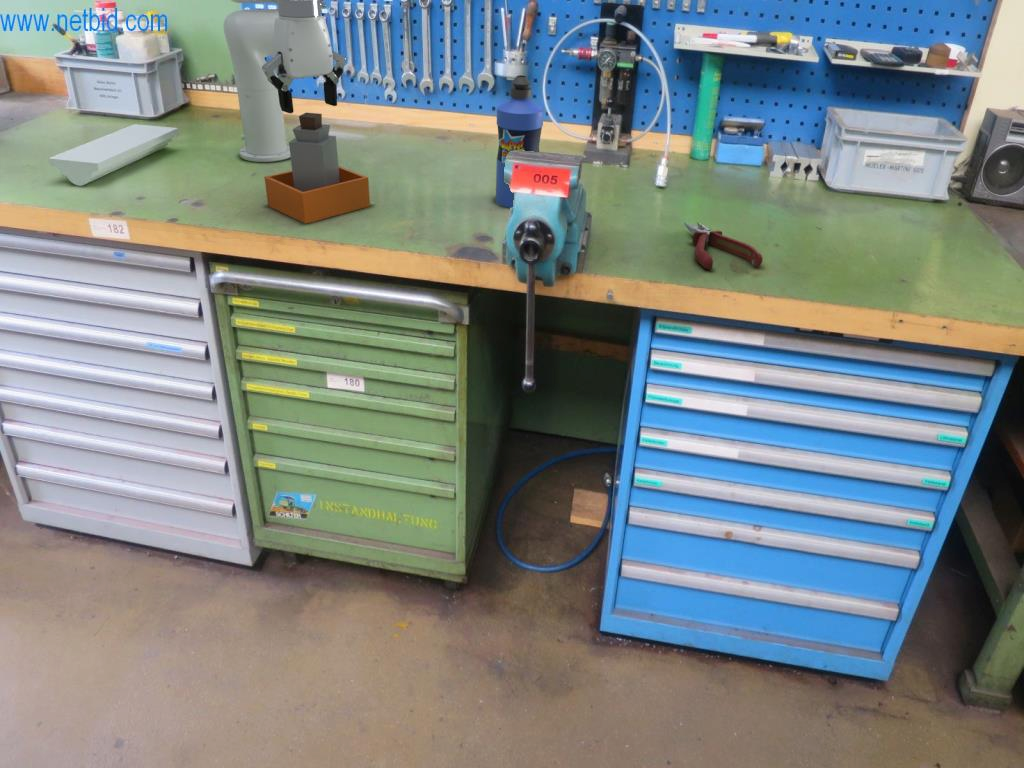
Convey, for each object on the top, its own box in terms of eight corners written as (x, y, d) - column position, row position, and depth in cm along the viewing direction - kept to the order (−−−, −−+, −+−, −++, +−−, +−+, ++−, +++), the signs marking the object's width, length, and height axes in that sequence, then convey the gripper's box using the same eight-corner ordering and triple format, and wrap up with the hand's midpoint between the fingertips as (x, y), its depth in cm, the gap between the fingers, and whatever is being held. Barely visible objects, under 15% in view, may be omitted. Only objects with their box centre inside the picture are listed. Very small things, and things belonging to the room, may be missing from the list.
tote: (268, 206, 160) (264, 176, 156) (332, 190, 169) (329, 162, 166) (305, 223, 152) (302, 193, 149) (370, 206, 161) (368, 177, 158)
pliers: (716, 227, 157) (719, 215, 156) (764, 268, 140) (767, 254, 139) (662, 230, 155) (664, 217, 153) (704, 272, 138) (706, 258, 137)
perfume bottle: (328, 213, 157) (319, 120, 148) (296, 209, 158) (286, 117, 149) (341, 202, 163) (333, 112, 153) (310, 199, 164) (301, 109, 154)
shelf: (182, 150, 190) (178, 128, 188) (103, 188, 165) (97, 163, 163) (139, 146, 192) (134, 124, 189) (55, 183, 167) (48, 158, 164)
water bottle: (507, 191, 172) (510, 69, 159) (546, 198, 169) (552, 75, 156) (487, 203, 165) (489, 77, 152) (527, 211, 162) (533, 83, 148)
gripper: (328, 4, 149) (336, 98, 158) (244, 10, 138) (258, 111, 147) (352, 8, 144) (358, 105, 153) (267, 15, 134) (280, 118, 143)
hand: (309, 108), depth 150 cm, fingers open, 9 cm apart
